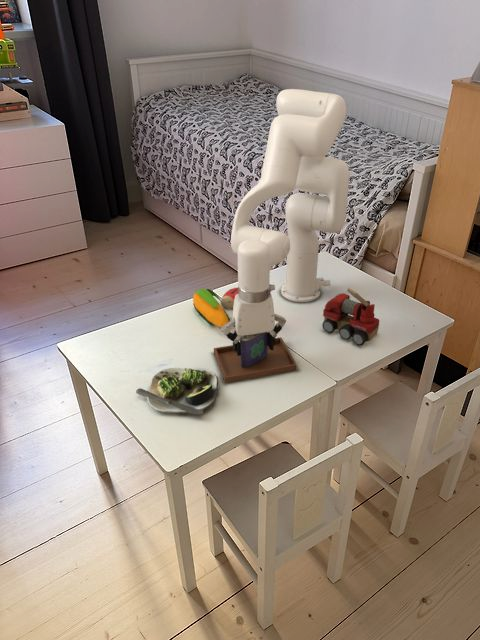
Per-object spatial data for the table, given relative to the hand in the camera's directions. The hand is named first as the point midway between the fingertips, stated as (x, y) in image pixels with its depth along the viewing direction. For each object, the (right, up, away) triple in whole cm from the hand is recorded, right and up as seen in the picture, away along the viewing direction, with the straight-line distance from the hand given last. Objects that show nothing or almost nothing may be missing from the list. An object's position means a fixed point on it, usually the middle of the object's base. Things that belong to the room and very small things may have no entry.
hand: (254, 349), depth 141 cm
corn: (-13, +10, +18) cm, 24 cm away
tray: (0, -3, +3) cm, 4 cm away
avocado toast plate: (-17, -12, -8) cm, 22 cm away
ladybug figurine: (-8, +16, +26) cm, 31 cm away
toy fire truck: (+26, +5, +14) cm, 30 cm away
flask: (0, -3, +3) cm, 4 cm away
